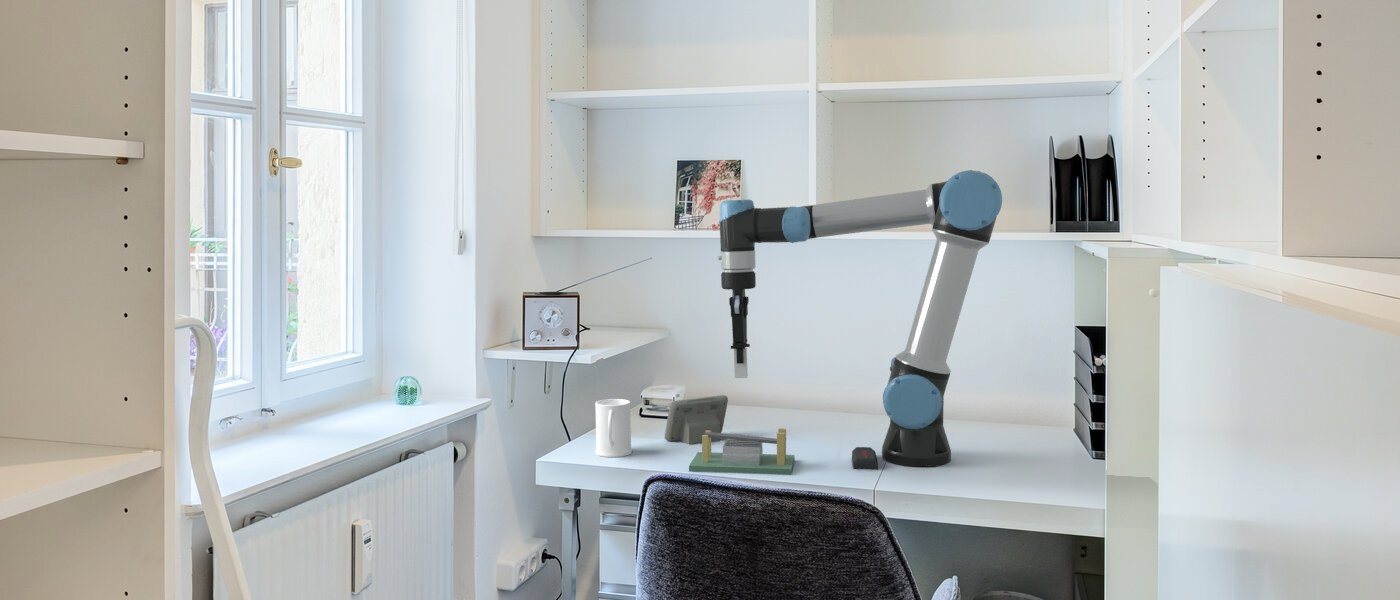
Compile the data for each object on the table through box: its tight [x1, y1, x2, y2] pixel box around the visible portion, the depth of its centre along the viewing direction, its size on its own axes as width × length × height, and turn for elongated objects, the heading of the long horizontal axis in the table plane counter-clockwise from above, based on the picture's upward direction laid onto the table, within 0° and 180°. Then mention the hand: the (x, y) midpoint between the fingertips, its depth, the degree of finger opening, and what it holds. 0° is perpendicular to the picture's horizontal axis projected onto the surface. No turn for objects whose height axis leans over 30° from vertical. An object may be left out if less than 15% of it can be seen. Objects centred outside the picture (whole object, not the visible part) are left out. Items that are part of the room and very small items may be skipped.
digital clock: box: [664, 394, 729, 445], centre depth 232 cm, size 16×9×11 cm, turn 107°
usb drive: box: [851, 446, 879, 471], centre depth 210 cm, size 5×12×3 cm, turn 173°
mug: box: [594, 398, 633, 458], centre depth 218 cm, size 12×8×12 cm
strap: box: [704, 432, 777, 445], centre depth 207 cm, size 18×3×1 cm, turn 81°
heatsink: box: [722, 439, 764, 466], centre depth 207 cm, size 8×8×4 cm
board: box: [688, 427, 796, 476], centre depth 207 cm, size 22×12×8 cm, turn 81°
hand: (741, 377), depth 208 cm, fingers closed
